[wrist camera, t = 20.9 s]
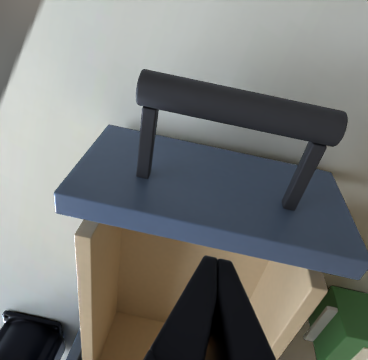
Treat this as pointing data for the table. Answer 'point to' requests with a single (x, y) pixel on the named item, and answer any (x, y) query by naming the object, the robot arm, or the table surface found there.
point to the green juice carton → (340, 326)
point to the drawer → (205, 216)
